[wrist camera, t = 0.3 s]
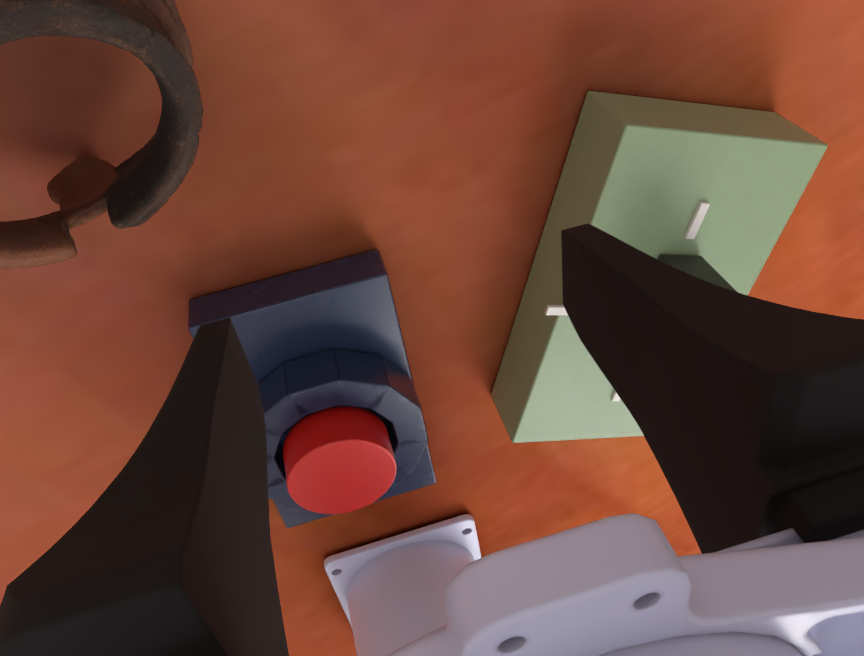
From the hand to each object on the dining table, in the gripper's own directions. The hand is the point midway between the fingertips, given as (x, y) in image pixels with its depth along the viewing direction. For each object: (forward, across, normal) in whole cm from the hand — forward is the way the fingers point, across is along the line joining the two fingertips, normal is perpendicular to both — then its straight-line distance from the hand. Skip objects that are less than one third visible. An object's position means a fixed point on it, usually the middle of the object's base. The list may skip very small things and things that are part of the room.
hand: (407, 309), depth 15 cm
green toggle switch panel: (+10, -10, +9) cm, 17 cm away
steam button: (+7, +3, +11) cm, 13 cm away
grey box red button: (+10, +3, +11) cm, 15 cm away
